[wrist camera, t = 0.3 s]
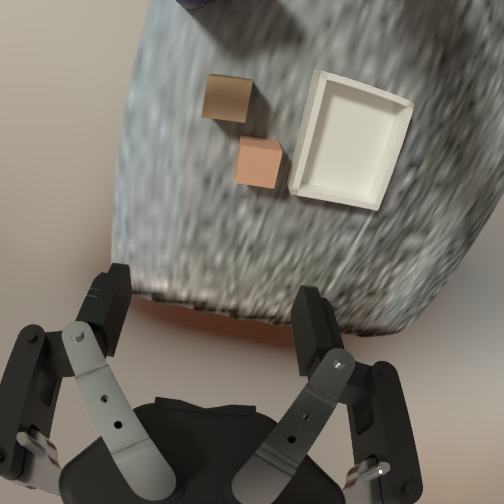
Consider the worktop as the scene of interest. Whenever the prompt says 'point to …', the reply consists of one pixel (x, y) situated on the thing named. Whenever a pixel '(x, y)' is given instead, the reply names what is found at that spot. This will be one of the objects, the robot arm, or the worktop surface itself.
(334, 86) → the tray
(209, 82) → the walnut block
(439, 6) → the worktop surface
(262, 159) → the terracotta block
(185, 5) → the flask
